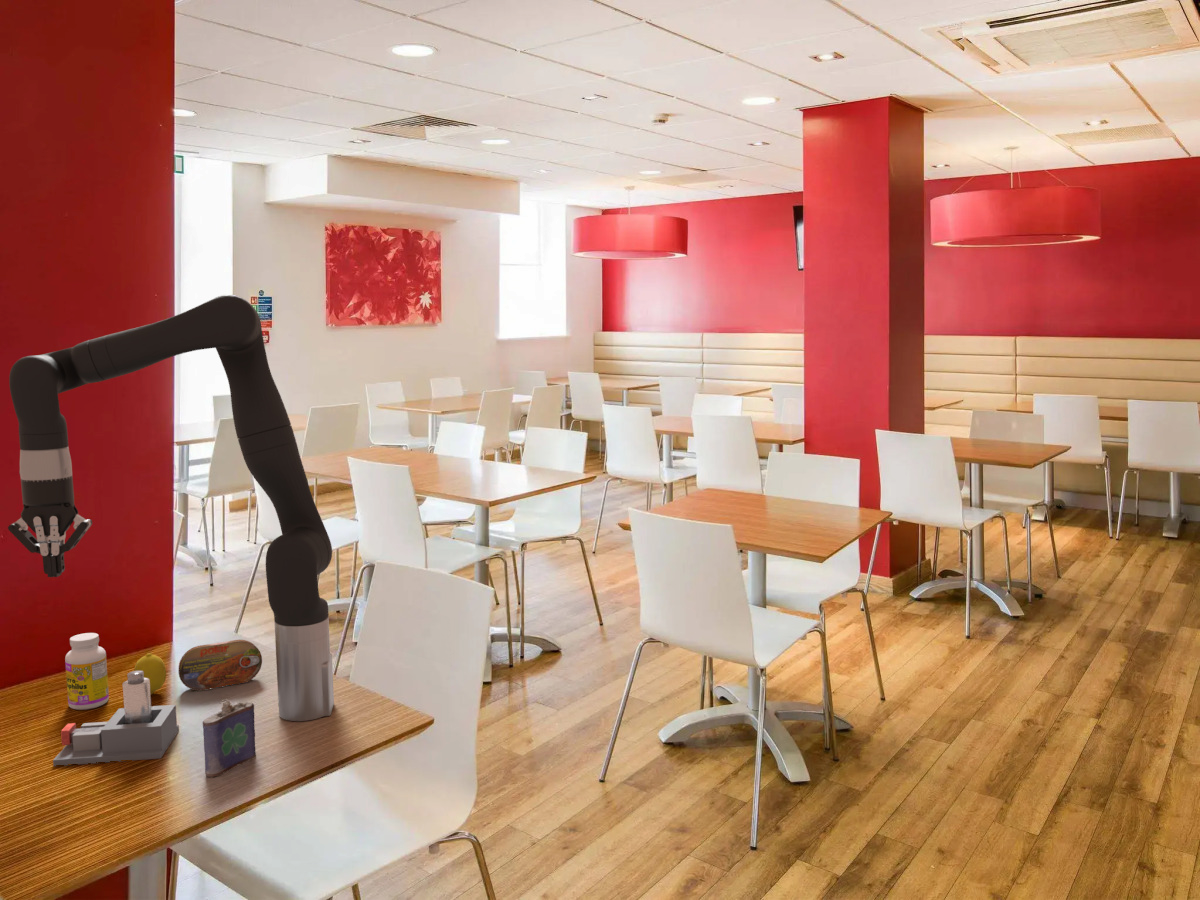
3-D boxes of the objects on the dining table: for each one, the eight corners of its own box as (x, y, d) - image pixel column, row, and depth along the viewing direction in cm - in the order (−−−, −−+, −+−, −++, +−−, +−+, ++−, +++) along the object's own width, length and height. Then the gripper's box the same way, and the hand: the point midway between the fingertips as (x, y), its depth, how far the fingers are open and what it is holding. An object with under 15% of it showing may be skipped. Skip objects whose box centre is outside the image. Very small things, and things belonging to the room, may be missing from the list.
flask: (212, 779, 147) (208, 712, 146) (199, 775, 149) (195, 708, 148) (260, 756, 155) (256, 692, 154) (247, 752, 157) (244, 689, 156)
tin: (180, 694, 182) (177, 651, 181) (179, 688, 185) (176, 646, 184) (263, 680, 189) (261, 639, 188) (261, 675, 192) (259, 634, 191)
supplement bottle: (60, 707, 176) (54, 639, 174) (91, 695, 182) (86, 629, 180) (86, 713, 173) (81, 644, 172) (117, 700, 179) (112, 633, 178)
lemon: (154, 700, 179) (152, 659, 178) (128, 698, 180) (125, 657, 179) (173, 689, 184) (171, 649, 183) (148, 687, 185) (145, 647, 184)
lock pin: (128, 734, 160) (127, 719, 160) (122, 741, 157) (121, 726, 157) (68, 738, 159) (67, 723, 158) (61, 745, 156) (60, 731, 156)
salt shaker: (156, 734, 162) (152, 668, 160) (149, 744, 158) (144, 676, 156) (131, 736, 161) (126, 669, 159) (123, 746, 157) (118, 678, 156)
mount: (178, 730, 166) (177, 702, 165) (160, 758, 155) (159, 728, 154) (78, 737, 163) (76, 709, 162) (53, 766, 152) (51, 736, 152)
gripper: (96, 470, 166) (104, 568, 168) (13, 472, 164) (21, 572, 166) (81, 477, 159) (88, 579, 161) (-7, 479, 156) (2, 583, 159)
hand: (54, 575), depth 163 cm, fingers closed
